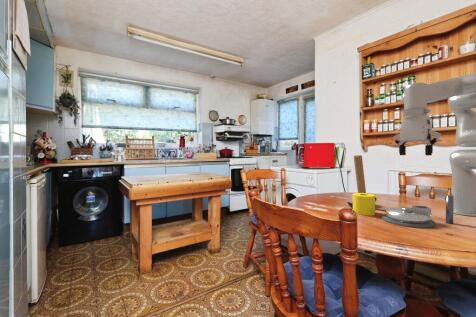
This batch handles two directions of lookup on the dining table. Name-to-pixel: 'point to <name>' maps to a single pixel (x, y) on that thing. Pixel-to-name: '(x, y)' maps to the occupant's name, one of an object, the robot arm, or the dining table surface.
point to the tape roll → (364, 204)
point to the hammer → (359, 176)
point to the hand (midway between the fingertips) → (415, 155)
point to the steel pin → (449, 209)
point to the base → (409, 223)
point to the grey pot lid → (410, 214)
